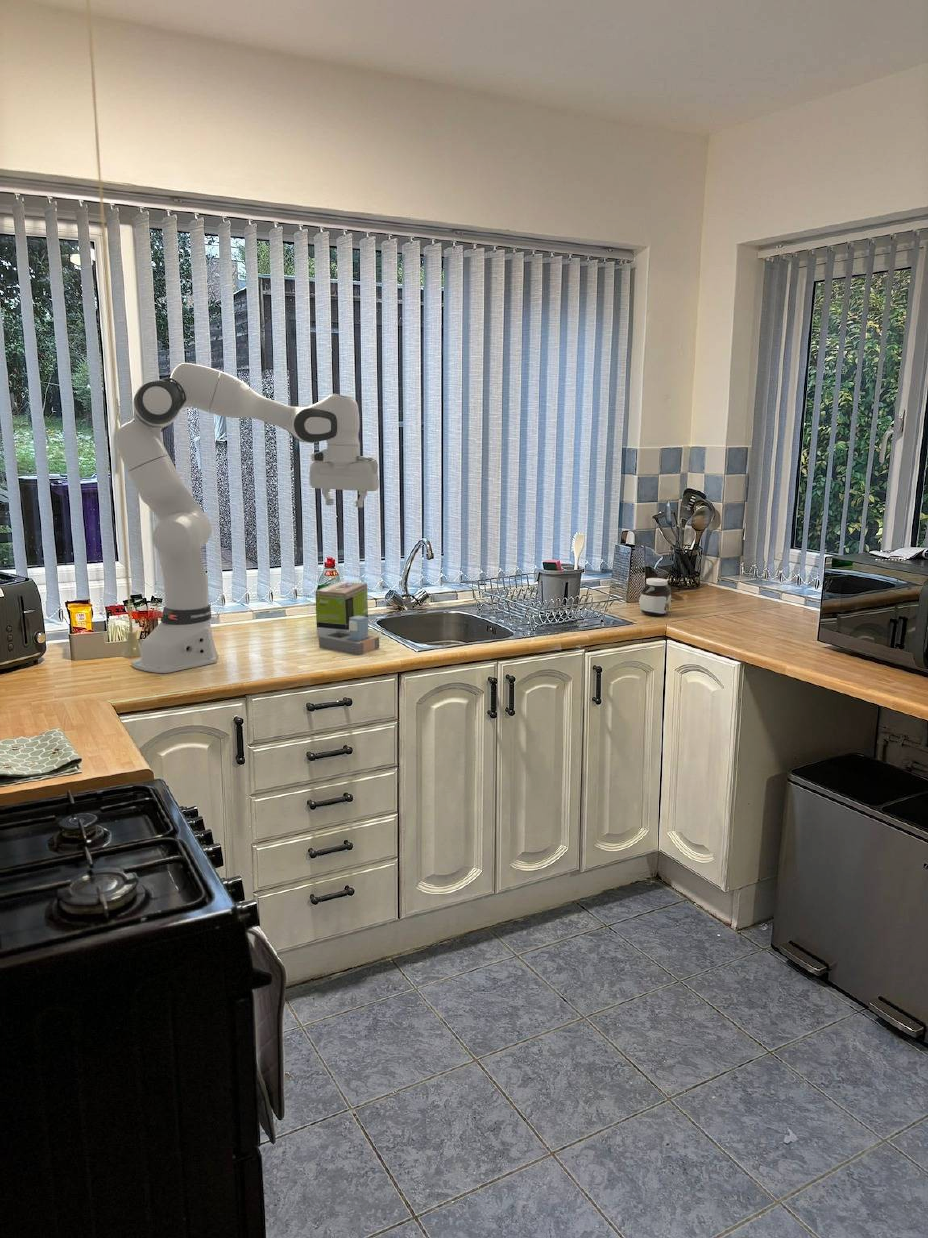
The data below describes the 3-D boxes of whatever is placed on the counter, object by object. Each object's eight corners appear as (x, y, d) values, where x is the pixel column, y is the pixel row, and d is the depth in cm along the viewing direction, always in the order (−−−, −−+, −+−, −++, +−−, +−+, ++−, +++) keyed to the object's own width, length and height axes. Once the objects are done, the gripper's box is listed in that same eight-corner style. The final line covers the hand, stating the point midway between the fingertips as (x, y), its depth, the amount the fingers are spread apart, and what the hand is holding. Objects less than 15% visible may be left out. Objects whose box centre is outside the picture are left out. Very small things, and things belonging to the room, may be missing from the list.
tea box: (339, 627, 284) (338, 580, 281) (369, 631, 281) (368, 582, 278) (315, 639, 271) (314, 589, 267) (346, 642, 267) (346, 592, 264)
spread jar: (655, 618, 303) (657, 583, 300) (627, 612, 311) (629, 578, 308) (676, 613, 311) (679, 579, 308) (649, 607, 319) (651, 574, 316)
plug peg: (357, 652, 253) (357, 620, 251) (347, 650, 255) (347, 618, 253) (368, 649, 257) (367, 617, 255) (358, 647, 259) (358, 615, 257)
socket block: (358, 658, 251) (358, 643, 250) (319, 650, 258) (318, 635, 257) (379, 651, 258) (379, 636, 258) (340, 643, 266) (339, 629, 265)
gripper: (382, 456, 253) (383, 507, 256) (318, 453, 261) (319, 503, 264) (371, 457, 248) (372, 509, 251) (305, 454, 255) (307, 505, 259)
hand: (344, 506), depth 258 cm, fingers open, 8 cm apart
